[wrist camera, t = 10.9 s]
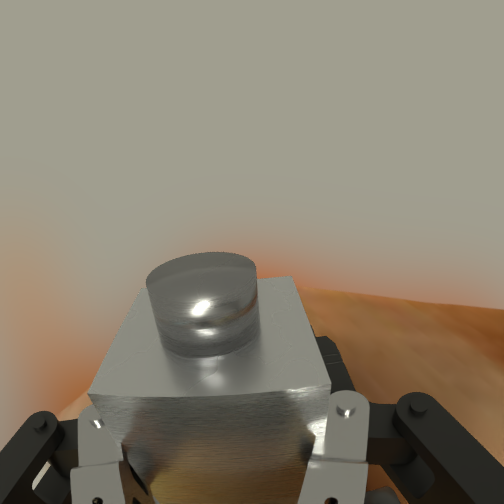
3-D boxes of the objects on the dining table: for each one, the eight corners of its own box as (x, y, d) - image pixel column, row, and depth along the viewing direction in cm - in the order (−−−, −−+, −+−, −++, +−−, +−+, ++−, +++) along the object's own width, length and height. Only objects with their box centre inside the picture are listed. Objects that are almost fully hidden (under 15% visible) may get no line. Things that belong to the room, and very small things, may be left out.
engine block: (191, 445, 13) (132, 246, 10) (292, 439, 13) (289, 231, 10) (183, 531, 9) (60, 336, 5) (307, 525, 9) (337, 319, 5)
